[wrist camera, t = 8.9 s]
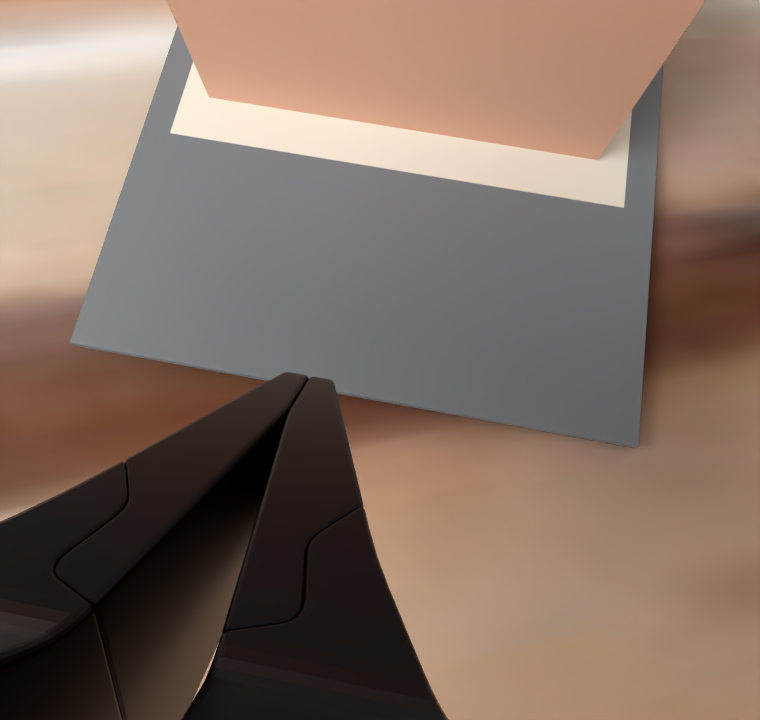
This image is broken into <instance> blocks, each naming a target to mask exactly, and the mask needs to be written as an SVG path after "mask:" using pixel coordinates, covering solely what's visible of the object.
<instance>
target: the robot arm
mask: <svg viewBox="0 0 760 720" xmlns="http://www.w3.org/2000/svg"><path fill="white" fill-rule="evenodd" d="M363 507H364V506H363V502H362V497H361V493H360V489H359V485H358V481H357V476H356V472H355V468H354V464H353V460H352V455H351V451H350V447H349V443H348V439H347V434H346V430H345V426H344V422H343V418H342V413H341V409H340V405H339V401H338V397H337V392H336V388H335V384H334V382H333V381H332V380H330V379H325V378H319V377H310V378H308V376H307V375H303V374H297V373H292V372H284V373H282V374H280V375H279V376H277V377H275V378H273V379H271V380H269V381H268V382H266V383H264V384H262V385H260V386H258V387H257V388H255V389H253V390H251V391H249V392H248V393H246V394H244V395H242V396H240V397H238V398H237V399H235V400H233V401H231V402H229V403H227V404H226V405H224V406H222V407H220V408H218V409H217V410H215V411H213V412H211V413H209V414H207V415H206V416H204V417H202V418H200V419H198V420H196V421H195V422H193V423H191V424H189V425H187V426H186V427H184V428H182V429H180V430H178V431H176V432H175V433H173V434H171V435H169V436H167V437H165V438H164V439H162V440H160V441H158V442H156V443H155V444H153V445H151V446H149V447H147V448H145V449H144V450H142V451H140V452H138V453H136V454H134V455H133V456H131V457H129V458H127V459H126V461H125V463H124V462H120V463H118V464H116V465H114V466H112V467H110V468H109V469H107V470H105V471H103V472H101V473H99V474H98V475H96V476H94V477H92V478H90V479H88V480H86V481H84V482H82V483H80V484H78V485H76V486H75V487H73V488H71V489H69V490H67V491H65V492H63V493H61V494H59V495H57V496H55V497H53V498H50V499H48V500H46V501H44V502H42V503H40V504H38V505H36V506H34V507H31V508H29V509H27V510H25V511H23V512H21V513H19V514H17V515H14V516H12V517H10V518H8V519H5V520H3V521H1V522H0V720H448V718H447V717H446V715H445V714H444V712H443V710H442V708H441V707H440V705H439V703H438V701H437V699H436V697H435V695H434V693H433V691H432V689H431V687H430V685H429V682H428V680H427V678H426V676H425V673H424V671H423V669H422V666H421V664H420V661H419V659H418V657H417V654H416V652H415V649H414V647H413V645H412V642H411V640H410V637H409V635H408V633H407V630H406V628H405V625H404V623H403V621H402V618H401V616H400V613H399V611H398V609H397V606H396V604H395V601H394V599H393V597H392V594H391V592H390V589H389V587H388V584H387V581H386V579H385V576H384V573H383V571H382V568H381V565H380V562H379V560H378V557H377V554H376V550H375V547H374V543H373V540H372V536H371V533H370V529H369V525H368V521H367V517H366V513H365V510H364V509H363ZM218 643H219V644H218ZM217 645H218V647H217ZM216 648H217V650H216ZM215 650H216V653H215V656H214V659H213V662H212V664H211V667H210V669H209V672H208V674H207V677H206V679H205V681H204V683H203V685H202V686H201V688H200V690H199V692H198V693H197V695H196V697H195V698H194V696H195V694H196V692H197V690H198V688H199V685H200V683H201V681H202V679H203V676H204V674H205V672H206V670H207V668H208V665H209V663H210V661H211V659H212V656H213V654H214V652H215ZM193 699H194V700H193ZM192 701H193V702H192Z"/></svg>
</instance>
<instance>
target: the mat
mask: <svg viewBox="0 0 760 720" xmlns="http://www.w3.org/2000/svg"><path fill="white" fill-rule="evenodd" d="M662 74H663V64H662V66H661V67H660V69H659V70H658V72H657V73H656V75H655V76H654V78H653V79H652V81H651V82H650V84H649V85H648V87H647V88H646V90H645V91H644V93H643V94H642V96H641V97H640V99H639V100H638V102H637V103H636V104H635V106H634V107H633V109H632V110H631V112H630V113H629V115H628V116H627V118H626V119H625V121H624V122H623V124H622V125H621V127H620V128H619V130H618V131H617V133H616V134H615V136H614V137H613V139H612V140H611V142H610V143H609V145H608V146H607V148H606V149H605V150H604V152H603V153H602V155H601V156H600V158H599V159H598V160H594V159H587V158H581V157H575V156H569V155H563V154H556V153H550V152H544V151H538V150H532V149H525V148H519V147H513V146H507V145H501V144H495V143H488V142H482V141H476V140H470V139H464V138H457V137H451V136H445V135H439V134H433V133H426V132H420V131H414V130H408V129H402V128H395V127H389V126H383V125H377V124H371V123H364V122H358V121H352V120H346V119H340V118H334V117H327V116H321V115H315V114H309V113H303V112H296V111H290V110H284V109H278V108H272V107H265V106H259V105H253V104H247V103H241V102H234V101H228V100H222V99H216V98H210V97H209V96H208V94H207V92H206V89H205V87H204V85H203V83H202V80H201V78H200V76H199V73H198V71H197V69H196V67H195V64H194V62H193V60H192V57H191V55H190V53H189V51H188V48H187V46H186V44H185V41H184V39H183V37H182V35H181V32H180V30H179V28H178V26H177V29H176V32H175V35H174V38H173V41H172V44H171V47H170V50H169V52H168V55H167V58H166V61H165V64H164V67H163V70H162V73H161V76H160V79H159V82H158V85H157V88H156V91H155V94H154V97H153V100H152V102H151V105H150V108H149V111H148V114H147V117H146V120H145V123H144V126H143V129H142V132H141V135H140V138H139V141H138V144H137V147H136V150H135V152H134V155H133V158H132V161H131V164H130V167H129V170H128V173H127V176H126V179H125V182H124V185H123V188H122V191H121V194H120V197H119V199H118V202H117V205H116V208H115V211H114V214H113V217H112V220H111V223H110V226H109V229H108V232H107V235H106V238H105V241H104V244H103V247H102V249H101V252H100V255H99V258H98V261H97V264H96V267H95V270H94V273H93V276H92V279H91V282H90V285H89V288H88V291H87V294H86V297H85V299H84V302H83V305H82V308H81V311H80V314H79V317H78V320H77V323H76V326H75V329H74V332H73V335H72V338H71V341H70V343H71V344H74V345H76V346H79V347H85V348H90V349H96V350H101V351H107V352H112V353H117V354H123V355H128V356H134V357H139V358H145V359H150V360H156V361H161V362H167V363H172V364H178V365H183V366H188V367H194V368H199V369H205V370H210V371H216V372H221V373H227V374H232V375H238V376H243V377H249V378H254V379H259V380H265V381H269V380H271V379H273V378H275V377H277V376H279V375H280V374H282V373H284V372H292V373H297V374H303V375H307V376H308V378H310V377H319V378H325V379H330V380H332V381H333V382H334V384H335V388H336V392H337V394H341V395H347V396H352V397H358V398H363V399H369V400H374V401H380V402H385V403H390V404H396V405H401V406H407V407H412V408H418V409H423V410H429V411H434V412H440V413H445V414H451V415H456V416H461V417H467V418H472V419H478V420H483V421H489V422H494V423H500V424H505V425H511V426H516V427H521V428H527V429H532V430H538V431H543V432H549V433H554V434H560V435H565V436H571V437H576V438H582V439H587V440H592V441H598V442H603V443H609V444H614V445H620V446H625V447H631V448H634V447H639V431H640V416H641V400H642V385H643V369H644V354H645V338H646V323H647V307H648V291H649V276H650V260H651V245H652V229H653V214H654V198H655V183H656V167H657V152H658V136H659V121H660V105H661V90H662Z"/></svg>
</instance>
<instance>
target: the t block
mask: <svg viewBox="0 0 760 720" xmlns="http://www.w3.org/2000/svg"><path fill="white" fill-rule="evenodd" d="M705 1H706V0H167V3H168V5H169V7H170V9H171V12H172V14H173V16H174V19H175V21H176V23H177V25H178V28H179V30H180V32H181V35H182V37H183V39H184V41H185V44H186V46H187V48H188V51H189V53H190V55H191V57H192V60H193V62H194V64H195V67H196V69H197V71H198V73H199V76H200V78H201V80H202V83H203V85H204V87H205V89H206V92H207V94H208V96H209V97H210V98H216V99H222V100H228V101H234V102H241V103H247V104H253V105H259V106H265V107H272V108H278V109H284V110H290V111H296V112H303V113H309V114H315V115H321V116H327V117H334V118H340V119H346V120H352V121H358V122H364V123H371V124H377V125H383V126H389V127H395V128H402V129H408V130H414V131H420V132H426V133H433V134H439V135H445V136H451V137H457V138H464V139H470V140H476V141H482V142H488V143H495V144H501V145H507V146H513V147H519V148H525V149H532V150H538V151H544V152H550V153H556V154H563V155H569V156H575V157H581V158H587V159H594V160H598V159H599V158H600V156H601V155H602V153H603V152H604V150H605V149H606V148H607V146H608V145H609V143H610V142H611V140H612V139H613V137H614V136H615V134H616V133H617V131H618V130H619V128H620V127H621V125H622V124H623V122H624V121H625V119H626V118H627V116H628V115H629V113H630V112H631V110H632V109H633V107H634V106H635V104H636V103H637V102H638V100H639V99H640V97H641V96H642V94H643V93H644V91H645V90H646V88H647V87H648V85H649V84H650V82H651V81H652V79H653V78H654V76H655V75H656V73H657V72H658V70H659V69H660V67H661V66H662V64H663V63H664V61H665V60H666V59H667V57H668V56H669V54H670V53H671V51H672V50H673V48H674V47H675V45H676V44H677V42H678V41H679V39H680V38H681V36H682V35H683V33H684V32H685V30H686V29H687V27H688V26H689V24H690V23H691V21H692V20H693V18H694V17H695V16H696V14H697V13H698V11H699V10H700V8H701V7H702V5H703V4H704V2H705Z"/></svg>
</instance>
